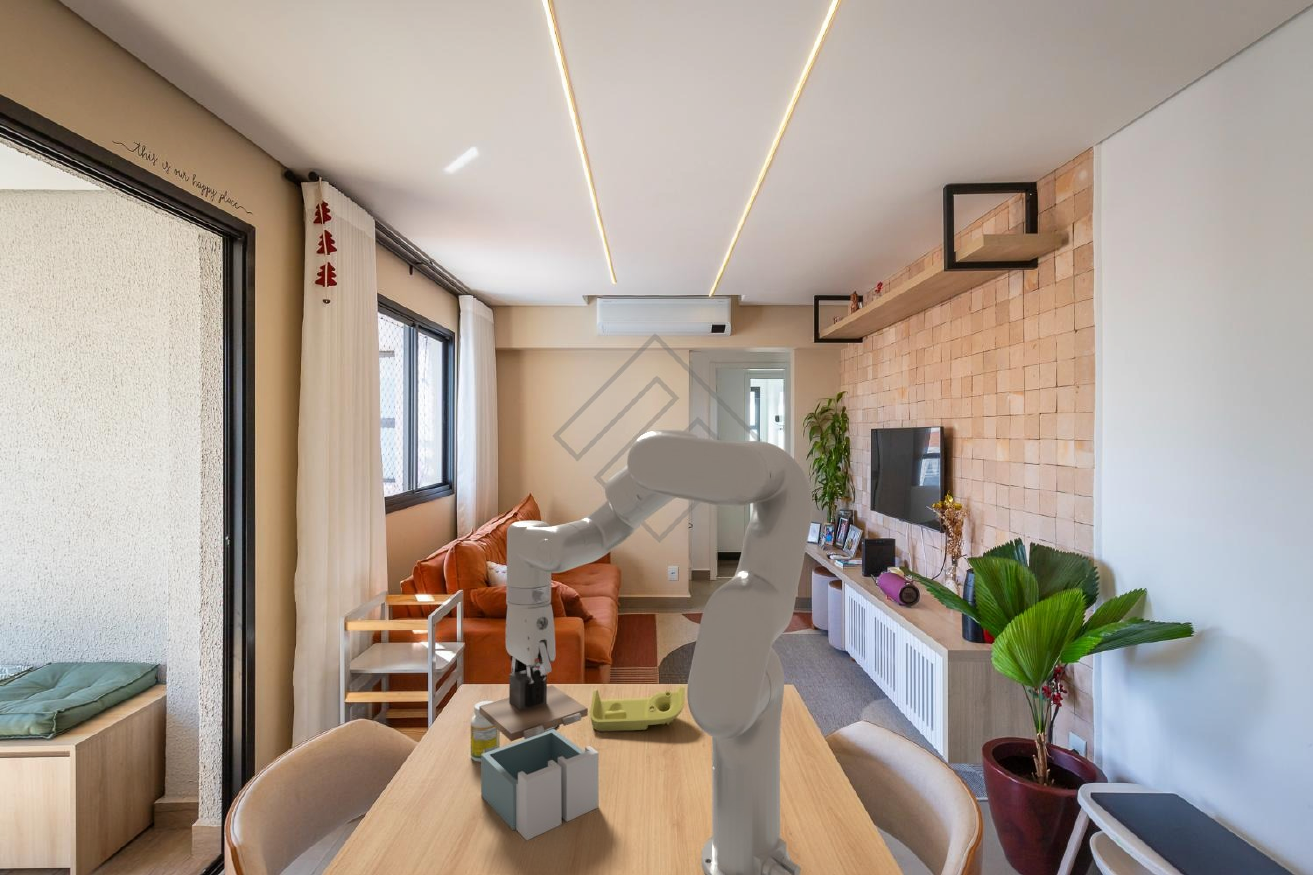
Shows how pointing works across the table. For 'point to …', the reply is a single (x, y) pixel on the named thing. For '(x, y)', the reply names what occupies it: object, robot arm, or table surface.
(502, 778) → the cabinet
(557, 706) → the door
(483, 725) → the supplement bottle
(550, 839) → the table surface
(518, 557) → the robot arm
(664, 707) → the plastic component
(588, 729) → the table surface
